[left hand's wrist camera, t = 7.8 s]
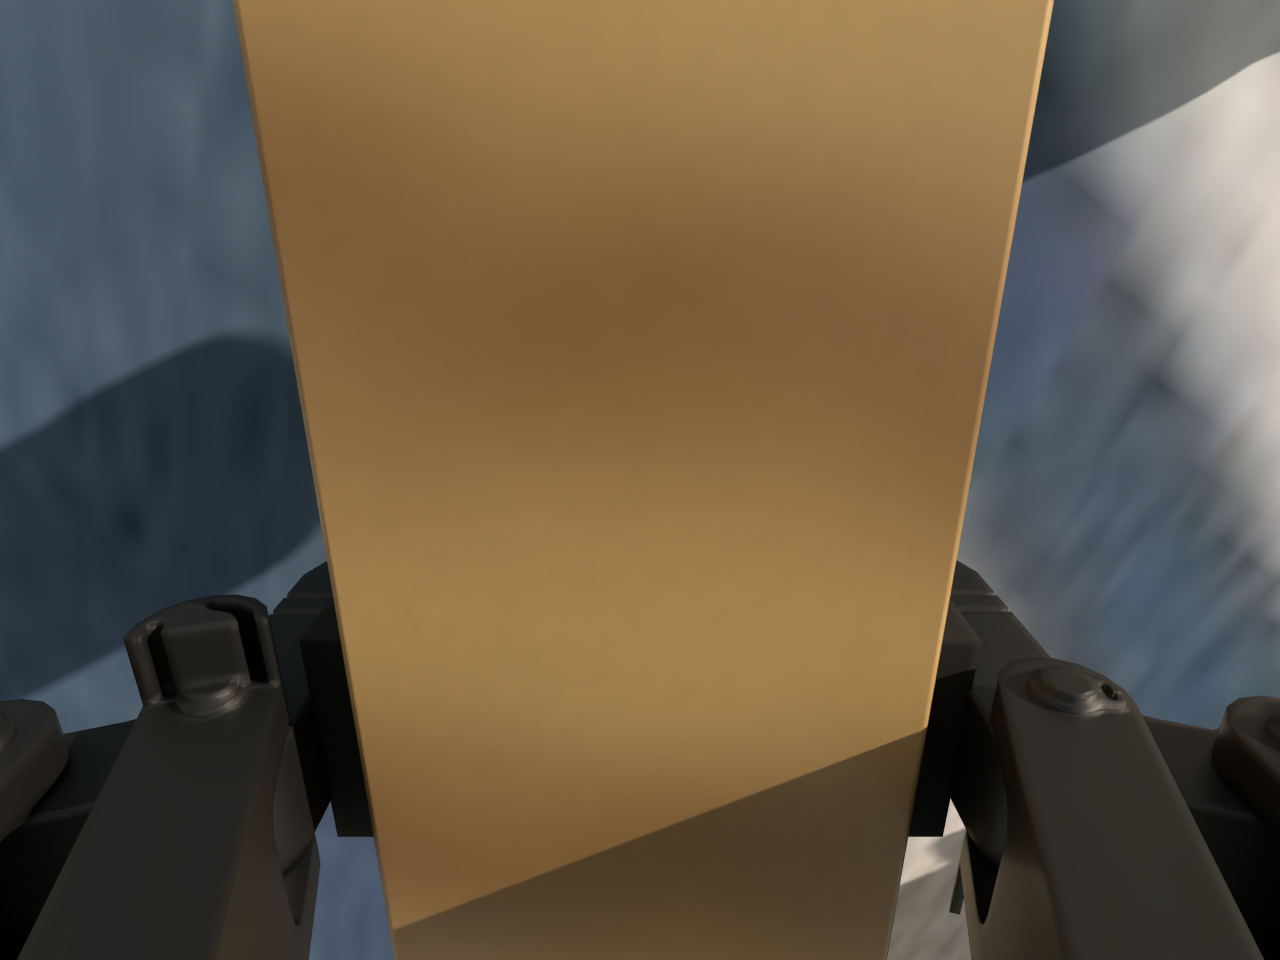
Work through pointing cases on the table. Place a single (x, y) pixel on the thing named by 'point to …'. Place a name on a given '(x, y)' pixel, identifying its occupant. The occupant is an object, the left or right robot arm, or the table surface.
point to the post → (641, 439)
